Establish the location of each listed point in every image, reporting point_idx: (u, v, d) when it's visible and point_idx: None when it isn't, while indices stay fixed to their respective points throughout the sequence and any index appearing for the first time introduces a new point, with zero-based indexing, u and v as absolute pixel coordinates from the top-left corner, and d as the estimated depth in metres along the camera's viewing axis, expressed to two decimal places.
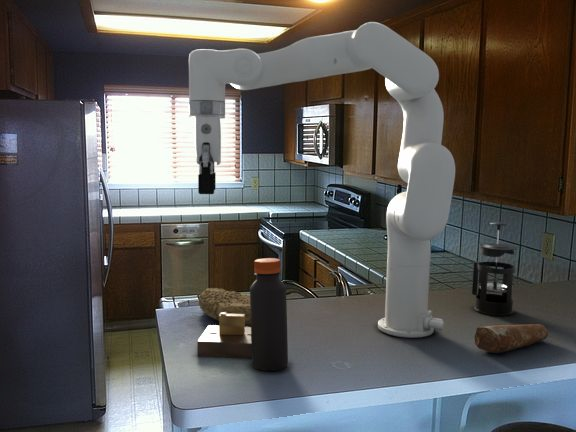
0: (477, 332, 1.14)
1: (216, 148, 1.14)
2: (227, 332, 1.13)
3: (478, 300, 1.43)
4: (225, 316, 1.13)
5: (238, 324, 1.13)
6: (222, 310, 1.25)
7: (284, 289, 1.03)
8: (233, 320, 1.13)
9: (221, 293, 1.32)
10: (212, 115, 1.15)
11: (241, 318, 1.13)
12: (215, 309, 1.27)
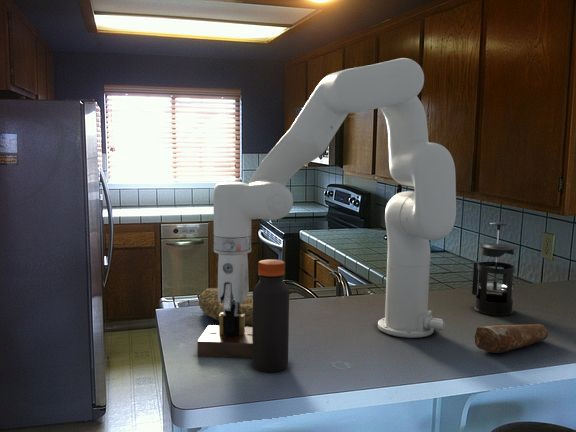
0: (477, 332, 1.14)
1: (238, 288, 1.08)
2: None
3: (478, 300, 1.43)
4: None
5: None
6: (222, 310, 1.25)
7: (287, 292, 1.03)
8: None
9: None
10: (235, 253, 1.09)
11: (241, 318, 1.13)
12: (215, 309, 1.27)
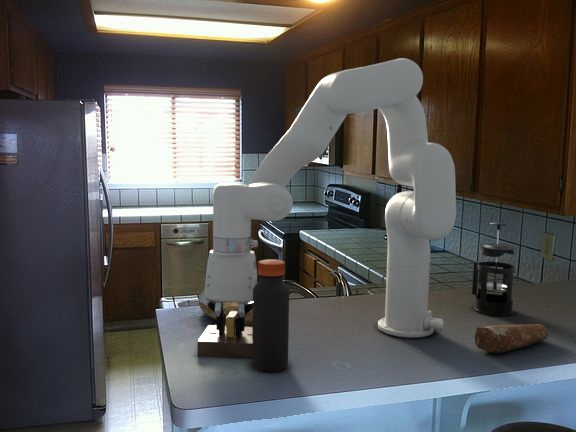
0: (477, 332, 1.14)
1: (256, 281, 1.15)
2: (235, 332, 1.13)
3: (478, 300, 1.43)
4: (234, 317, 1.13)
5: None
6: None
7: (287, 292, 1.03)
8: None
9: None
10: (249, 250, 1.13)
11: (237, 313, 1.16)
12: None
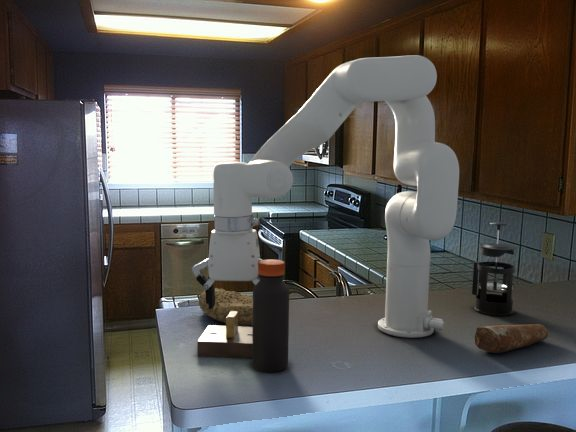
0: (477, 332, 1.14)
1: None
2: (235, 332, 1.13)
3: (478, 300, 1.43)
4: (234, 317, 1.13)
5: (237, 320, 1.15)
6: (222, 310, 1.25)
7: (287, 292, 1.03)
8: (236, 319, 1.14)
9: (221, 293, 1.32)
10: (251, 228, 1.13)
11: (237, 313, 1.16)
12: (215, 309, 1.27)
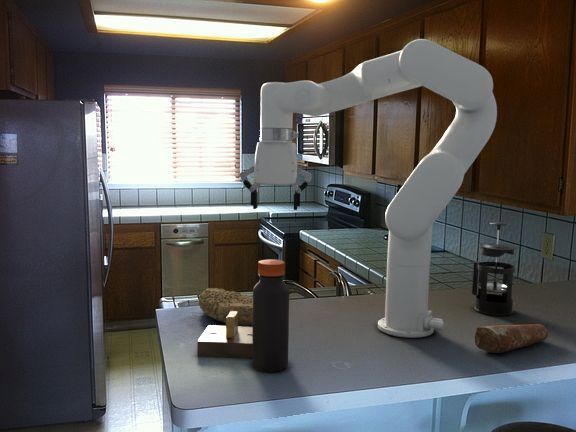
0: (477, 332, 1.14)
1: None
2: (235, 332, 1.13)
3: (478, 300, 1.43)
4: (234, 317, 1.13)
5: (237, 320, 1.15)
6: (222, 310, 1.25)
7: (287, 292, 1.03)
8: (236, 319, 1.14)
9: (221, 293, 1.32)
10: None
11: (237, 313, 1.16)
12: (215, 309, 1.27)
